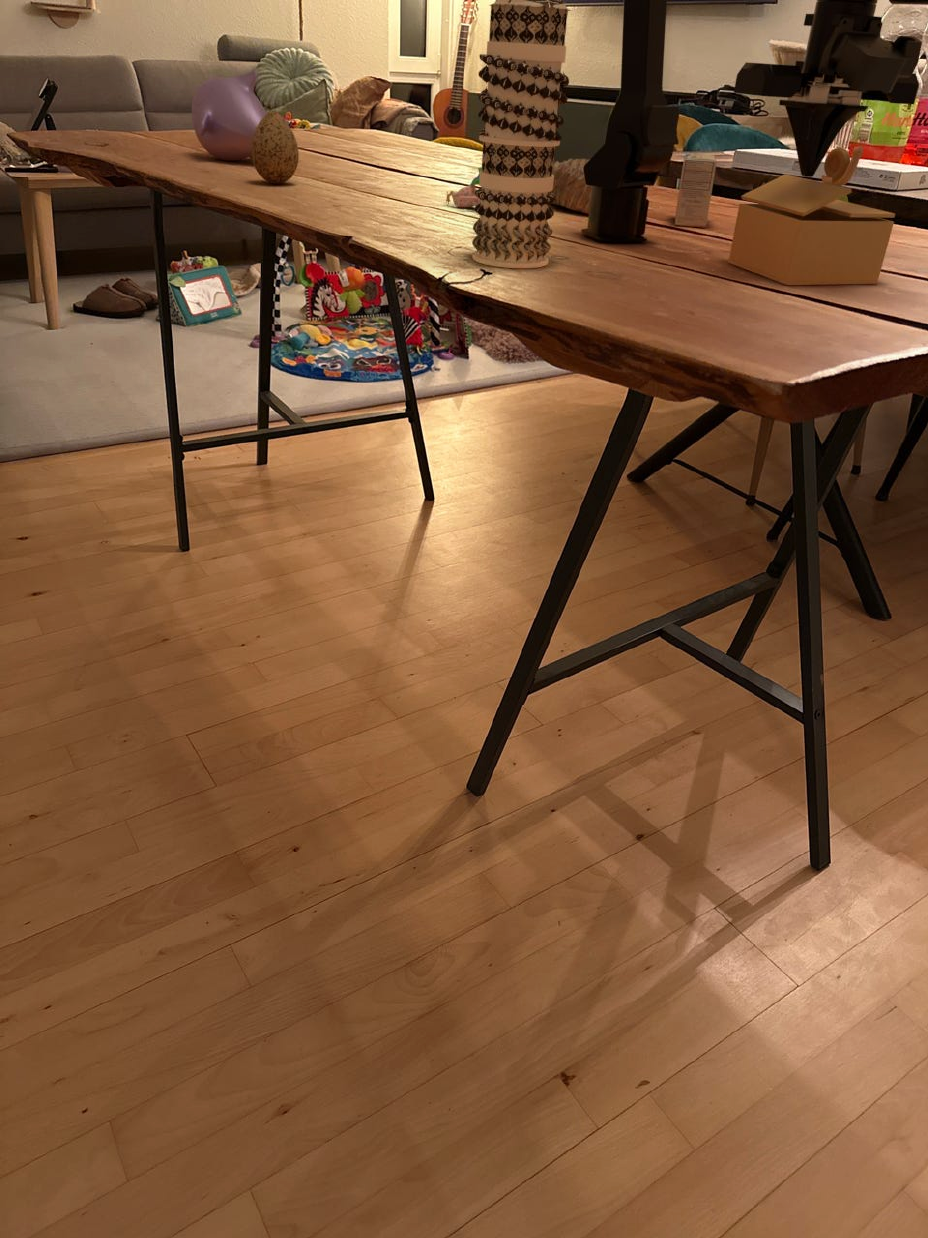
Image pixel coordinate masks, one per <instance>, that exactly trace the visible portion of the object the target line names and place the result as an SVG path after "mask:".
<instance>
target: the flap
mask: <svg viewBox="0 0 928 1238" xmlns="http://www.w3.org/2000/svg"><path fill="white" fill-rule="evenodd" d="M851 193H852V188H849V187H845V186H836V185H831V184H827V183H823V181H817V180H813V179H809V178H805V177H800V176H795V175H791V174H787V173H784V174H783V175H781V176H779V177H777V178H774V179H773V180H771V181H768V182H767V183H764V184H761V185H760V186H758V187H756V188H754V189H752V190H750V191H748V192H745V193H744V194H743V195H741V197H740V198H741V200H743V201H747V202H749V203H753V204H761V205H765V206H768V207H772V208H776V209H779V210H783V211H786V212H790V213H794V214H797V215H801V216H805V215H807V214H809V213H811V212H813V211H815V210H817V209H819V208H821V207H823V206H825V205H827V204H829V203H831V202H833V201H836V200H838V199H840V198H842V197H844V196H846V195H850V194H851Z"/></svg>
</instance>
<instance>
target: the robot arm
mask: <svg viewBox="0 0 928 1238" xmlns="http://www.w3.org/2000/svg"><path fill="white" fill-rule="evenodd" d="M878 1H879V0H816V3H815V7H814V12H813V13H805V16H804V22H803V26H804V27H805V26H806V27H810V30H809V35H808V40H807V44H806V49H805V54H804V58H803V60H795V65H794V64H793V65H792V64H778V63H777V64H775V63H761V62H747V61H746V62H745V63H744V64H743V66H742V67H741V68H740V69H739V71H738V72H737V74H736V78H735V83H734V89H733V93H734V94H742V95H749V96H759V97H771V98H787V99H779V102H778V105H779V106H783V107H784V108H785V110H786V114H787V118H788V120H789V124H790V128H791V131H792V135H793V141H794V145H795V149H796V155H797V160H798V166H799V170H800V175H801V176H802V177H804V178H805V177H806V178H813V177H814V175H815V173H816V172H817V170H818V169H819V167H820V166H821V164H822V162H823V159H824V158H825V156H827V153H828V151H829V150H830V148H831V146H832V144H833V143H834V141H835V139H836V138H837V136H838V134H839V133H840V132H841V130H842V129H843V127H844V126H845V124H846V123H847V122H849V121H850V120H851V119H852V118H853V117H855V116H856V115H857V114H858V113H861V112H862V113H863V112H864V113H865V112H866V111H867V110H868V108H869V106H868V105H862V104H861V102H862V101H879V102H886V103H889V104H900V105H915V104H916V100H917V95H918V93H919V88H920V83H919V79H918V77H917V73H914V71H915V70H916V68H917V66H918V64H919V60H920V56H921V49H922V45H923V42H922V40H920V39H919V38H918V37H916V36H913V35H899V36H898V37H897V38H896V39H895V40H886V39H883V38H882V37H881V33H882V32H881V31H882V27H883V21H882V19H883V16H877V15H876V16H875V13H876V9H877V4H878ZM888 2H889V3H890V4H891V5H912V6H913V5H914V6H915V5H916V6H918V5H920V6H928V0H888ZM667 7H668V0H623V7H622V8H623V11H622V13H623V14H622V37H621V39H622V40H621V67H620V70H621V71H620V90H619V94H618V96H617V99H616V100H615V102H614V105H613V108H612V109H611V112H610V114H609V116H608V119H607V125H606V131H605V137H604V144H603V145H602V146H601V147H600V148H599V149H598V150H597V151H596V152H595V153H594V155H593V156H591V158H589V159H590V160H589V159H588V160H589V161H588V162H587V163H586V164H585V165H584V167H583V170H584V177H585V183H586V185H590V186H592V191H591V200H590V208H589V214H588V218H587V227H586V228H581V230H580V233H581V234H583V235H584V236H587V237H589V238H592V239H594V240H596V241H599V242H602V243H603V242H604V243H634V242H635V243H638V242H639V243H642V242H643V243H645V242H647V241H648V237H647V236H644V235H645V234H646V226H647V221H648V212H649V205H650V200H649V199H648V191H649V187H653V186H655V184H656V182H657V180H658V178H659V176H660V174H661V171H662V169H664V168H665V167H666V165H667V164H668V163H669V162H670V161H671V159H672V157H673V155H674V154H673V153H674V149H675V146H677V145H679V143H680V141H679V138H678V123H679V119H680V107H679V105H668V102H667V99H666V96H665V93H664V87H663V82H664V63H665V43H666V28H667V27H666V25H667ZM816 78H822V81H816ZM836 79H842V82H836Z"/></svg>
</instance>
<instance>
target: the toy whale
mask: <svg viewBox="0 0 928 1238" xmlns="http://www.w3.org/2000/svg"><path fill="white" fill-rule="evenodd" d="M258 75H259V73H258V70H251V71H249V72H246V73H243V74H242V73H241V74H238V75H236V76H233V77H225V76H223V77H222V76H220V77H219V76H218V77H213V78H209V79H206V80H204V81H203V82H201V83H200V84H199V85H198V86H197V87H196V89H195V90H194V93H193V96H192V101H191V102H192V104H191V118H192V124H193V129H194V132H195V135H196V137H197V140H198V142H199V143H200V145H201V146H202V148H203V149H204V150H205V151H206V152H207V153H208V154H210V156H212V157H214V158H216V159H217V160H221V161H227V162H229V161H241V160H244V159H248V158H249V159H250V160H252V155H251V145H252V139H253V135H254V132H255V130H256V128H257V126H258V124H259V122H260V121H261V120H262V118H263V117H264V116H265V115H266V114H267V111H266V109H265V107H264V106H263V104H262V103H261V101H260V100H259V98H258V96H257V95H256V94H255V92H254V91H255V85H256V83H257V81H258V77H259V76H258ZM284 120H285V121H286V122H287V124H288V125H289V120H288V119H285V118H284Z"/></svg>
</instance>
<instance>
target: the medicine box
mask: <svg viewBox="0 0 928 1238" xmlns="http://www.w3.org/2000/svg"><path fill="white" fill-rule="evenodd" d="M716 168H717V158H716V156H715V155H714V154H707V153H706V154H704V153H686V154H684V158H683V162H682V168H681V174H680V175H681V176H680V181H679V186H678V187H679V188H678V195H677V201H676V206H675V207H676V208H675V214H674V215H675V217H674V218H675V220H674V225H675V226H681V227H690V228H691V227H692V228H701V229H705V228H706V227H707V223H708V217H709V210H710V206H711V199H712V194H713V193H712V192H713V188H714V187H713V186H714V180H715V173H716Z"/></svg>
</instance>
